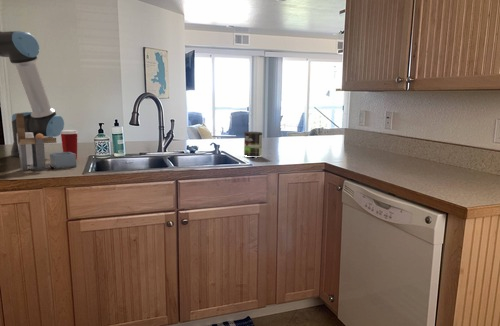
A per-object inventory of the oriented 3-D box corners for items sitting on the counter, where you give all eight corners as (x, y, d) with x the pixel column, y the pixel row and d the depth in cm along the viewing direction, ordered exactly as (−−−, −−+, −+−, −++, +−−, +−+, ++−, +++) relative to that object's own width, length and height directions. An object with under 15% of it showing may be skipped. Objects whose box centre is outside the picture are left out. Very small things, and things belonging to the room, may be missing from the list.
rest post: (20, 169, 163) (18, 143, 162) (25, 169, 165) (23, 143, 163) (22, 171, 161) (20, 144, 159) (27, 170, 162) (25, 144, 160)
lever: (17, 143, 162) (14, 113, 160) (52, 141, 172) (50, 113, 169) (20, 145, 158) (17, 113, 156) (56, 142, 168) (54, 113, 165)
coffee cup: (82, 158, 196) (81, 130, 194) (73, 161, 188) (72, 131, 186) (67, 158, 197) (65, 129, 194) (58, 160, 189) (56, 130, 186)
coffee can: (252, 158, 208) (252, 133, 206) (240, 156, 215) (240, 132, 213) (265, 157, 215) (266, 132, 212) (253, 155, 222) (253, 131, 220)
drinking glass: (20, 163, 178) (18, 132, 176) (36, 163, 181) (34, 132, 178) (17, 166, 172) (14, 133, 169) (34, 165, 174) (32, 133, 172)
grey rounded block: (50, 166, 174) (49, 153, 173) (70, 164, 180) (69, 151, 179) (56, 168, 168) (55, 155, 167) (76, 166, 173) (75, 153, 172)
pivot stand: (29, 168, 168) (26, 138, 166) (43, 166, 172) (41, 137, 170) (34, 171, 161) (32, 139, 159) (49, 169, 166) (47, 139, 163)
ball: (34, 140, 165) (34, 133, 165) (42, 140, 168) (42, 133, 167) (36, 141, 163) (36, 133, 163) (44, 140, 165) (44, 133, 165)
